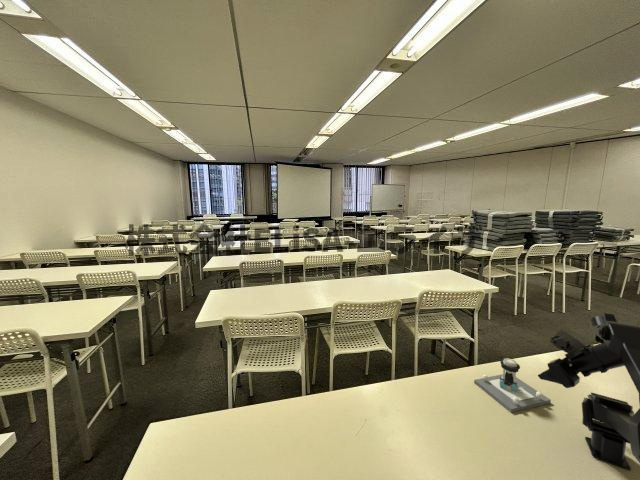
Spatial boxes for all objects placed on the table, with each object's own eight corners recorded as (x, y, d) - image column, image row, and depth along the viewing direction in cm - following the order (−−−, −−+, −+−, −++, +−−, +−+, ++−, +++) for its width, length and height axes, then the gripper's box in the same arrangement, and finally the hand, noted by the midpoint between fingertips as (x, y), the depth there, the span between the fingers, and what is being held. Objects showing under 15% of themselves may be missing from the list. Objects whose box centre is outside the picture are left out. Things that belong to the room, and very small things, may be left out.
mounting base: (550, 403, 82) (551, 394, 82) (510, 412, 78) (511, 403, 78) (509, 375, 96) (510, 367, 95) (474, 382, 92) (474, 374, 92)
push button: (521, 387, 87) (523, 360, 86) (524, 397, 83) (526, 369, 82) (498, 381, 91) (500, 355, 89) (499, 390, 86) (501, 362, 85)
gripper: (589, 319, 74) (539, 337, 85) (560, 336, 66) (510, 354, 77) (626, 357, 68) (568, 372, 79) (600, 381, 60) (539, 394, 71)
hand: (546, 371), depth 77 cm, fingers open, 9 cm apart
